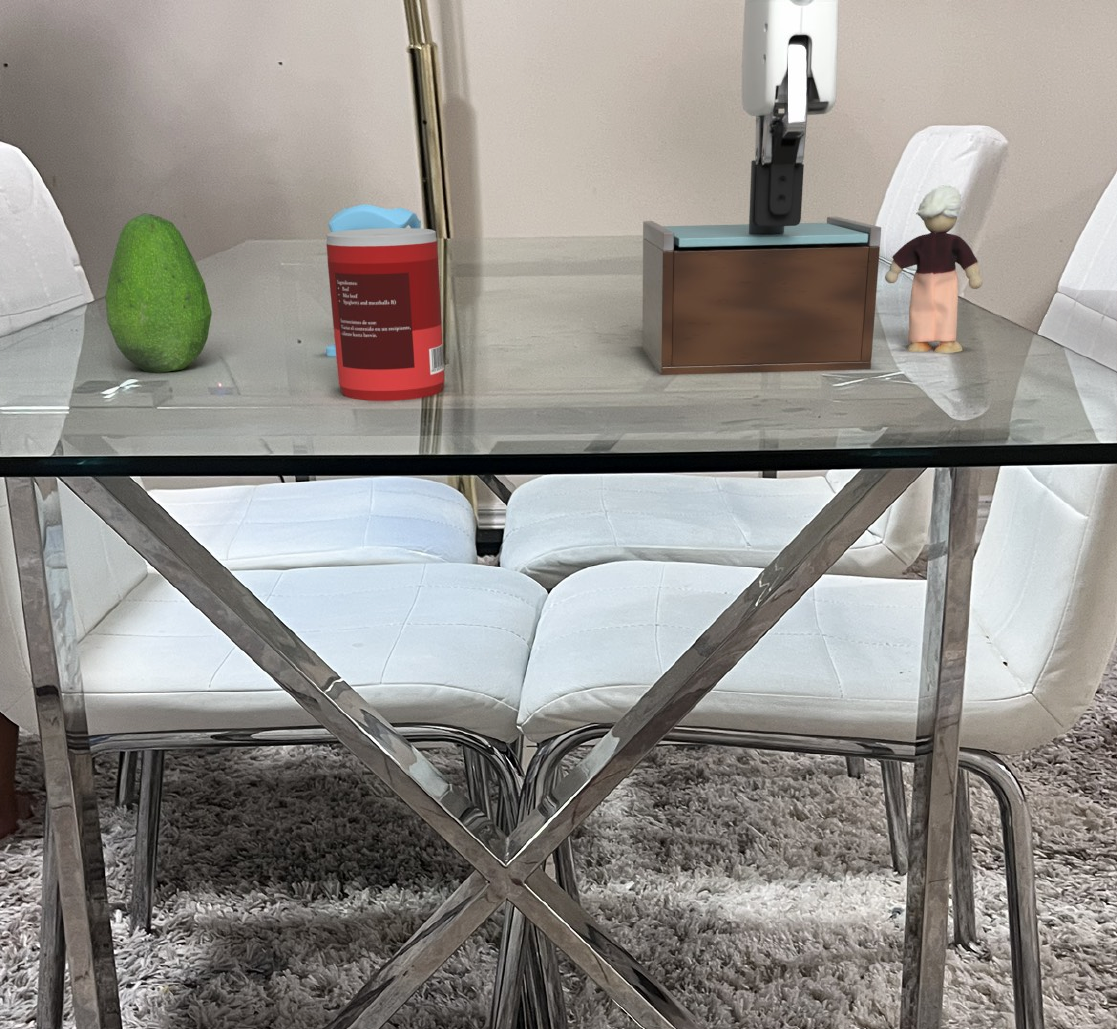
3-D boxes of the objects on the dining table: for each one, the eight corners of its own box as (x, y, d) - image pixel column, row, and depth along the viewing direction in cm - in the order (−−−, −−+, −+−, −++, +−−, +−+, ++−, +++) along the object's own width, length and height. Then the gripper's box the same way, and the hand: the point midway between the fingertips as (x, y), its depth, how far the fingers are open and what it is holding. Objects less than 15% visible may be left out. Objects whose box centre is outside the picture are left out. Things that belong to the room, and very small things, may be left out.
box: (828, 345, 114) (836, 216, 110) (870, 372, 102) (881, 227, 97) (642, 350, 114) (643, 221, 110) (661, 377, 101) (663, 232, 97)
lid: (824, 230, 110) (828, 156, 108) (867, 242, 97) (873, 158, 95) (657, 234, 109) (657, 159, 107) (679, 247, 97) (680, 163, 94)
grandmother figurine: (975, 349, 111) (993, 184, 105) (974, 356, 107) (992, 186, 102) (881, 347, 113) (893, 184, 107) (876, 354, 109) (889, 187, 104)
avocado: (185, 382, 103) (163, 215, 98) (97, 379, 105) (71, 216, 100) (235, 366, 110) (217, 210, 105) (151, 363, 112) (129, 210, 107)
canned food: (423, 381, 102) (414, 226, 97) (462, 397, 95) (454, 232, 90) (325, 390, 99) (311, 231, 94) (358, 408, 92) (344, 237, 87)
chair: (443, 346, 119) (435, 200, 114) (411, 360, 111) (401, 205, 106) (362, 344, 120) (351, 200, 115) (325, 358, 113) (311, 206, 108)
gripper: (877, -92, 81) (854, 231, 89) (820, -60, 95) (805, 218, 102) (754, -90, 81) (742, 233, 89) (715, -58, 94) (707, 220, 102)
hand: (775, 224), depth 95 cm, fingers closed
